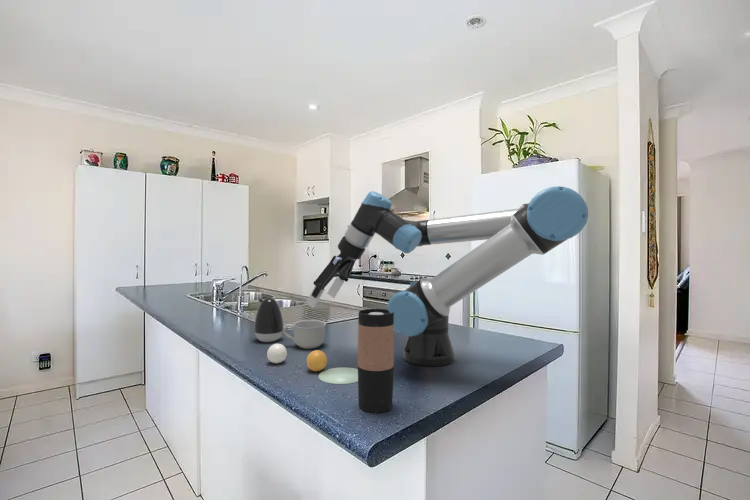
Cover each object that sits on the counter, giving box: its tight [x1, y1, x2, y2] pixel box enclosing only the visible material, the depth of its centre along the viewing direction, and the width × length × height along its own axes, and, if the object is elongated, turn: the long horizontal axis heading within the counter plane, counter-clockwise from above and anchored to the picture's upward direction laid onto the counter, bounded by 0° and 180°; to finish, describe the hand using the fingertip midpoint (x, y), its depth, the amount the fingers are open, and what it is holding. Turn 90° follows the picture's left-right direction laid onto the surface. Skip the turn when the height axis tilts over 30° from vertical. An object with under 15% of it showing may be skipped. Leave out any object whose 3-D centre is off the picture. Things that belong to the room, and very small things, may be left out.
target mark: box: [318, 366, 358, 385], centre depth 97 cm, size 12×12×1 cm
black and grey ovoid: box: [253, 297, 285, 343], centre depth 132 cm, size 10×10×15 cm
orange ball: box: [306, 349, 328, 372], centre depth 101 cm, size 6×6×6 cm
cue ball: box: [266, 343, 288, 364], centre depth 107 cm, size 6×6×6 cm
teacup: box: [282, 319, 327, 350], centre depth 125 cm, size 14×11×8 cm
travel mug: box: [357, 308, 395, 414], centre depth 79 cm, size 8×8×20 cm
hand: (320, 300), depth 114 cm, fingers open, 13 cm apart
